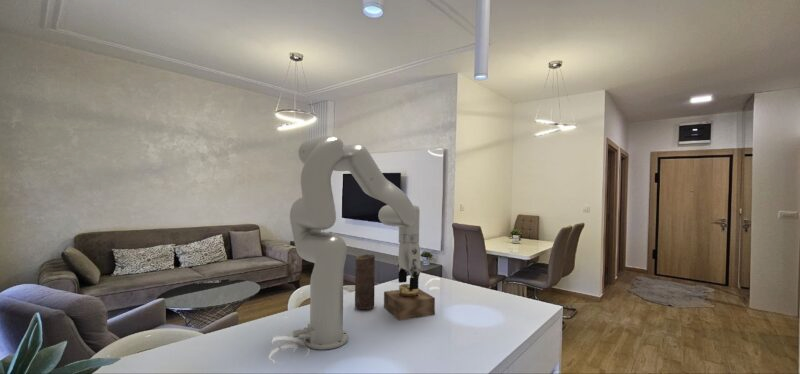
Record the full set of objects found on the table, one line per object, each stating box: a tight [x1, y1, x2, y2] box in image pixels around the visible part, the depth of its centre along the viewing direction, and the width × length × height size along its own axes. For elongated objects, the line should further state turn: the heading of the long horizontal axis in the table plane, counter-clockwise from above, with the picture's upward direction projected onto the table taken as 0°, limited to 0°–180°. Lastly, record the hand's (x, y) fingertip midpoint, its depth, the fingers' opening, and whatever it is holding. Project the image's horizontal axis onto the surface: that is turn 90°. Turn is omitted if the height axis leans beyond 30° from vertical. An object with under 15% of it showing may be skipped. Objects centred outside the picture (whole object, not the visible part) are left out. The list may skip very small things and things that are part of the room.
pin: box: [398, 283, 418, 298], centre depth 128 cm, size 7×7×8 cm
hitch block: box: [383, 287, 436, 321], centre depth 128 cm, size 14×14×6 cm
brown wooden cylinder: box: [354, 253, 376, 310], centre depth 130 cm, size 8×7×20 cm
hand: (408, 285), depth 128 cm, fingers open, 9 cm apart
